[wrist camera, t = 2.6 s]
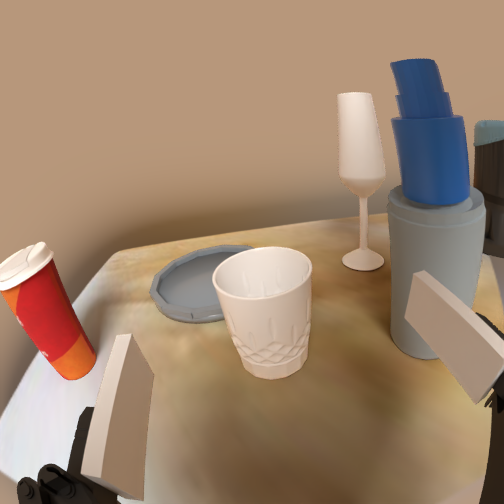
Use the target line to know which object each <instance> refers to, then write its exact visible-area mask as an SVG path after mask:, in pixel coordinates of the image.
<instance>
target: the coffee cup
mask: <svg viewBox="0 0 504 504" xmlns="http://www.w3.org/2000/svg"><path fill="white" fill-rule="evenodd" d="M53 255H54V253H53V251H52V250H49V249H48V246H47V245H46V243H44V242H39V243H37V244H36V245H35V244H34V245H31V246H28V247H27V249H22V250H20V251H18V252H17V253H15V254H13V255H12V256H10V257H9V258H7V259H6V260H5V261H4V262H2V263H1V264H0V291H1V293H2V295H3V297H4V298H5V300H6V301H7V303H8V305H9V307H10V308H11V310H12V312H13V313H14V315H15V316H16V318H17V319H18V321H19V322H20V324H21V325H22V327H23V328H24V330H25V331H26V332H27V334H28V335H29V337H30V338H31V340H32V341H33V342H34V344H35V345H36V346H37V348H38V349H39V350H40V351H41V353H42V354H43V355H44V356H45V358H46V359H47V360H48V361H49V362H50V364H51V365H52V366H53V367H54V368H55V369H56V371H57V372H58V373H59V374H60V375H61V376H62V377H63V378H65V379H67V380H77V379H79V378H82V377H83V376H85V375H86V374H87V373H89V372H90V370H91V369H92V368H93V366H94V364H95V362H96V354H95V352H94V350H93V348H92V346H91V344H90V342H89V340H88V338H87V336H86V334H85V332H84V330H83V328H82V326H81V324H80V322H79V320H78V318H77V316H76V314H75V312H74V309H73V307H72V305H71V303H70V301H69V298H68V296H67V294H66V292H65V289H64V287H63V284H62V282H61V280H60V277H59V274H58V271H57V269H56V266H55V263H54V261H53Z"/></svg>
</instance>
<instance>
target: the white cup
mask: <svg viewBox="0 0 504 504" xmlns="http://www.w3.org/2000/svg"><path fill="white" fill-rule="evenodd" d="M212 281H213V285H214V288H215V291H216V294H217V297H218V300H219V303H220V306H221V309H222V312H223V315H224V318H225V321H226V324H227V327H228V330H229V333H230V336H231V338H232V340H233V343H234V346H235V347H236V349H237V351H238V353H239V356H240V359H241V361H242V364H243V366H244V369H246V370H247V371H248V372H250V373H251V374H252V375H254V376H255V377H259V378H264V379H269V380H273V379H279V378H284V377H288V376H290V375H291V374H293V373H294V372H296V371H298V370H299V369H301V367H302V365H303V364H304V362H305V361H306V359H307V357H308V340H309V335H310V327H311V307H312V263H311V261H310V259H309V258H308V257H307V256H306V255H304V254H303V253H301V252H299V251H297V250H294V249H290V248H285V247H260V248H254V249H250V250H246V251H243V252H240V253H237V254H235V255H233V256H231V257H229V258H227V259H226V260H224V261H223V262H222V263H221V264H220V265H219V266H218V267H217V268H216V269H215V271H214V273H213V276H212Z"/></svg>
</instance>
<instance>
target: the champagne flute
mask: <svg viewBox="0 0 504 504" xmlns="http://www.w3.org/2000/svg"><path fill="white" fill-rule="evenodd" d="M337 111H338V147H339V148H338V150H339V151H338V153H339V155H338V158H339V159H338V160H339V162H338V163H339V164H338V168H339V169H338V174H339V177H340V179H341V181H342V182H343V183H344V185H345V186H346V187H347V188H348V189H349V190H350V191H351V192H353V193H354V194H355V195H356V196H358V197H359V203H360V248H358V249H356V250H354V251H351V252H349V253H347V254H345V255H344V256H343V258H342V262H343V264H344V265H346V266H347V267H349V268H352V269H356V270H373V269H376V268H379V267H380V266H382V265H383V263H384V259H383V257H382V256H381V255H379V254H378V253H376V252H374V251H372V250H370V249H368V248H367V237H368V206H367V197H369V196H370V195H372V194H373V193H374V192H375V191H376V190H377V189H378V188H379V187H380V186H381V184H382V183H383V181H384V179H385V176H386V170H385V163H384V157H383V150H382V144H381V138H380V133H379V127H378V122H377V117H376V113H375V108H374V104H373V100H372V95H371V94H370V93H361V92H360V93H359V92H356V93H355V92H354V93H342V94H338V95H337Z"/></svg>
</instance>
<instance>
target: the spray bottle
mask: <svg viewBox="0 0 504 504" xmlns="http://www.w3.org/2000/svg"><path fill="white" fill-rule="evenodd" d="M390 66H391V69H392V72H393V75H394V78H395V82H396V86H397V90H398V94H399V95H396V96H395V97H396V101H397V105H398V110H399V114H400V117H396V118H392V119H391V122H392V128H393V133H394V138H395V143H396V149H397V155H398V161H399V168H400V175H401V184H402V185H399V186H397V187H395V188H394V189H392V190H391V191H390V193H389V195H388V199H389V203H388V205H387V212H388V222H389V235H390V252H391V323H390V329H391V337H392V339H393V341H394V343H395V345H396V346H397V347H398V348H399V349H400V350H401V351H403V352H404V353H406V354H408V355H410V356H412V357H414V358H420V359H426V360H428V359H436V358H439V357H438V356H437V355H436V354H435V352H434V351H433V350H432V349H431V348H430V346H429V345H428V344H427V343H426V342H425V341H424V339H423V338H422V337H421V336H420V335H419V334H418V332H417V331H416V330H415V329H414V328H413V327H412V326H411V325H410V323H409V322H408V321H407V320H406V319H405V318H404V317H405V312H406V308H407V304H408V299H409V294H410V289H411V284H412V279H413V274H414V273H417V272H420V271H423V270H425V271H426V272H427V273H429V274H430V275H431V276H432V277H433V278H435V279H436V280H437V281H438V282H440V283H441V284H442V285H443V286H444V287H446V288H447V289H448V290H449V291H450V292H452V293H453V294H454V295H455V296H456V297H457V298H459V299H460V300H461V301H462V302H463V303H464V304H465V305H467V306H468V307H469V308H470V309H471V310H472V306H473V302H474V297H475V293H476V288H477V283H478V278H479V272H480V266H481V259H482V252H483V244H484V234H485V221H486V208H485V205H484V197H483V195H482V193H481V192H480V191H479V190H477V189H476V188H474V187H472V186H470V181H469V163H468V151H467V143H466V134H465V127H464V121H463V117H462V116H459V115H453V112H452V107H451V102H450V97H449V93H448V92H444V88H443V84H442V80H441V76H440V73H439V69H438V66H437V64H436V63H435V61H434V60H431V59H407V60H401V61H397V62H391V63H390Z"/></svg>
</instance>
